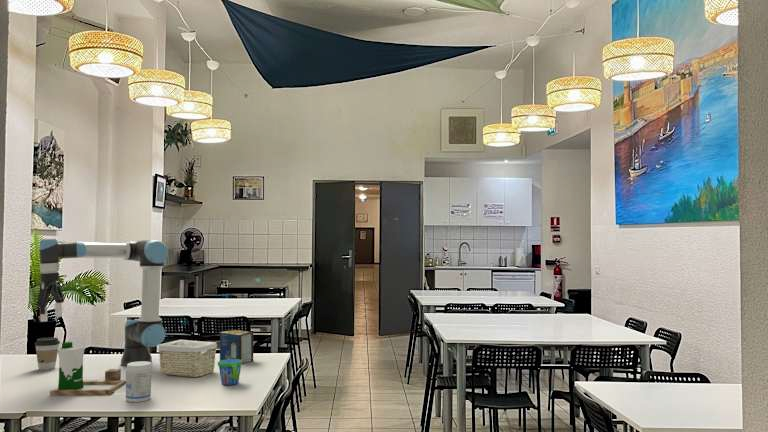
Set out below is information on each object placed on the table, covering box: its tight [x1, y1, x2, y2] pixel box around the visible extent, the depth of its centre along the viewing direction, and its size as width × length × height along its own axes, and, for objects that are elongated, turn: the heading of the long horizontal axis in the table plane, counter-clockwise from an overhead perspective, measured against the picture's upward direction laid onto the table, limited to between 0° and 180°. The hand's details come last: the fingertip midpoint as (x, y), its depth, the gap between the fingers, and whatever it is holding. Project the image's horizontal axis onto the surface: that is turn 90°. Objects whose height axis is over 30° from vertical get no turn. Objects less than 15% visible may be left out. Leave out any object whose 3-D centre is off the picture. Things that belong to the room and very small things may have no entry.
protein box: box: [219, 329, 254, 364], centre depth 327 cm, size 10×15×16 cm
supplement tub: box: [125, 361, 153, 403], centre depth 249 cm, size 10×10×15 cm
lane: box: [49, 380, 126, 397], centre depth 264 cm, size 25×17×2 cm
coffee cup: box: [34, 337, 61, 371], centre depth 308 cm, size 11×11×15 cm
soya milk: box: [57, 341, 86, 390], centre depth 264 cm, size 9×9×20 cm
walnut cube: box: [104, 368, 122, 381], centre depth 277 cm, size 5×5×5 cm
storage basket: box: [157, 339, 218, 378], centre depth 298 cm, size 24×16×15 cm
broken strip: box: [83, 379, 125, 381], centre depth 277 cm, size 21×5×1 cm, turn 93°
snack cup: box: [217, 359, 243, 386], centre depth 276 cm, size 16×10×10 cm
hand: (51, 319), depth 278 cm, fingers open, 13 cm apart
